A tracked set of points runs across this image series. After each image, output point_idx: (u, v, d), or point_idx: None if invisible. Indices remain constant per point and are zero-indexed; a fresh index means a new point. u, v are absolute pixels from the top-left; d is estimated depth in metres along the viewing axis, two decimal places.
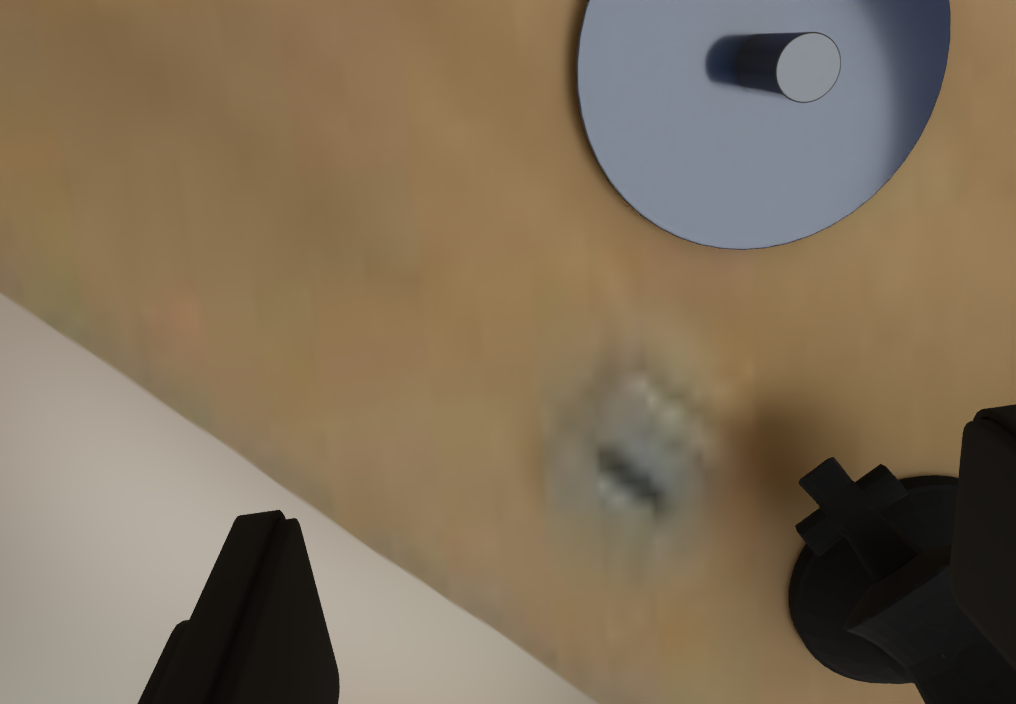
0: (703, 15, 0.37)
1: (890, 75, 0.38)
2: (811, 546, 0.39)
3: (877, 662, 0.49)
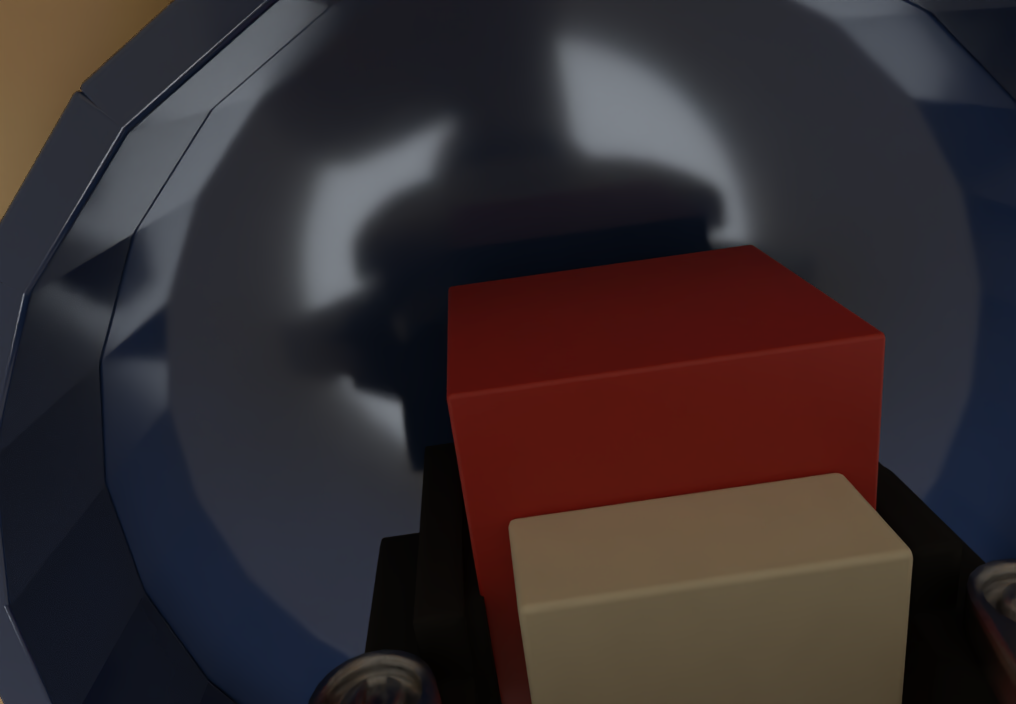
0: None
1: None
2: None
3: None
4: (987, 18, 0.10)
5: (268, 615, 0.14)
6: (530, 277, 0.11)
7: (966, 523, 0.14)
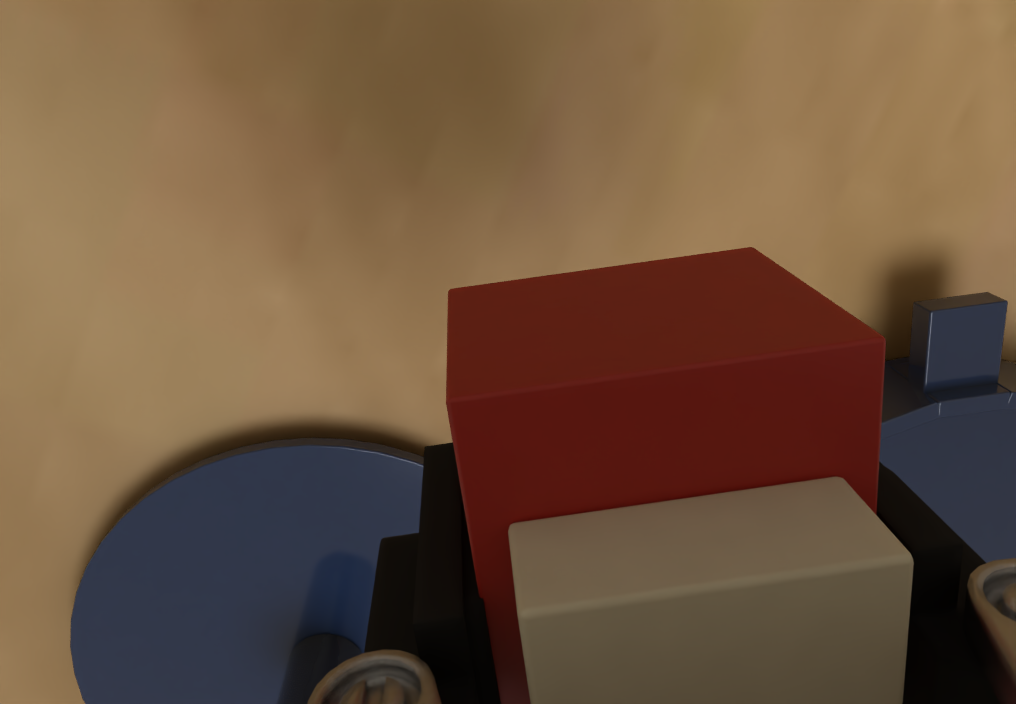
0: (272, 588, 0.28)
1: None
2: None
3: None
4: None
5: None
6: (530, 279, 0.11)
7: None
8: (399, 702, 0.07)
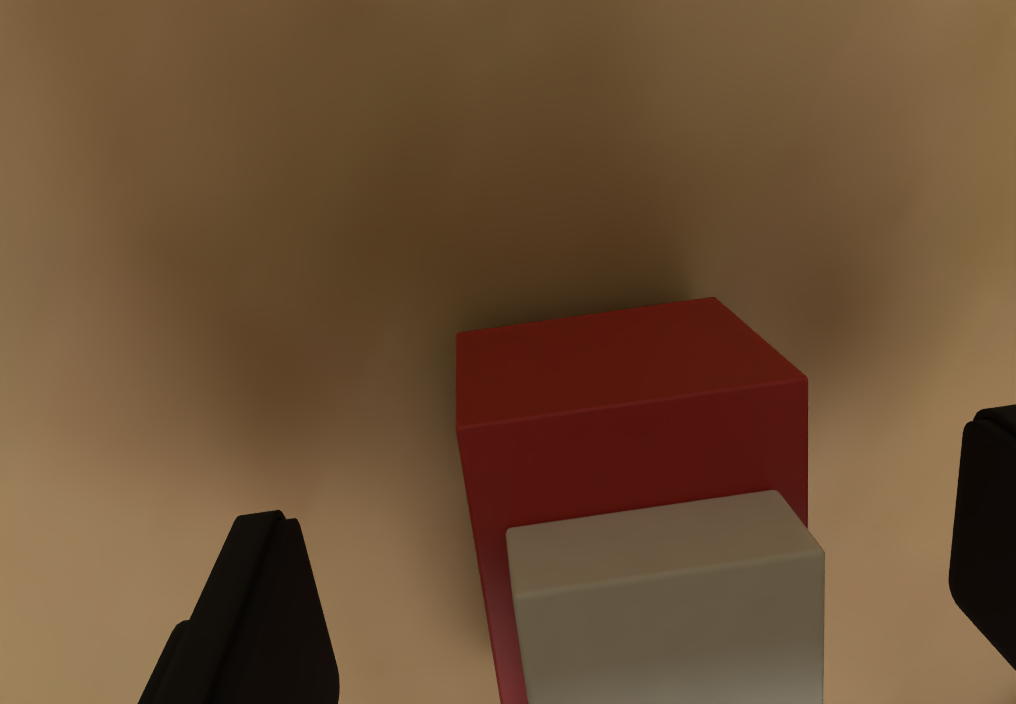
0: None
1: None
2: None
3: None
4: None
5: None
6: (525, 325, 0.12)
7: None
8: None
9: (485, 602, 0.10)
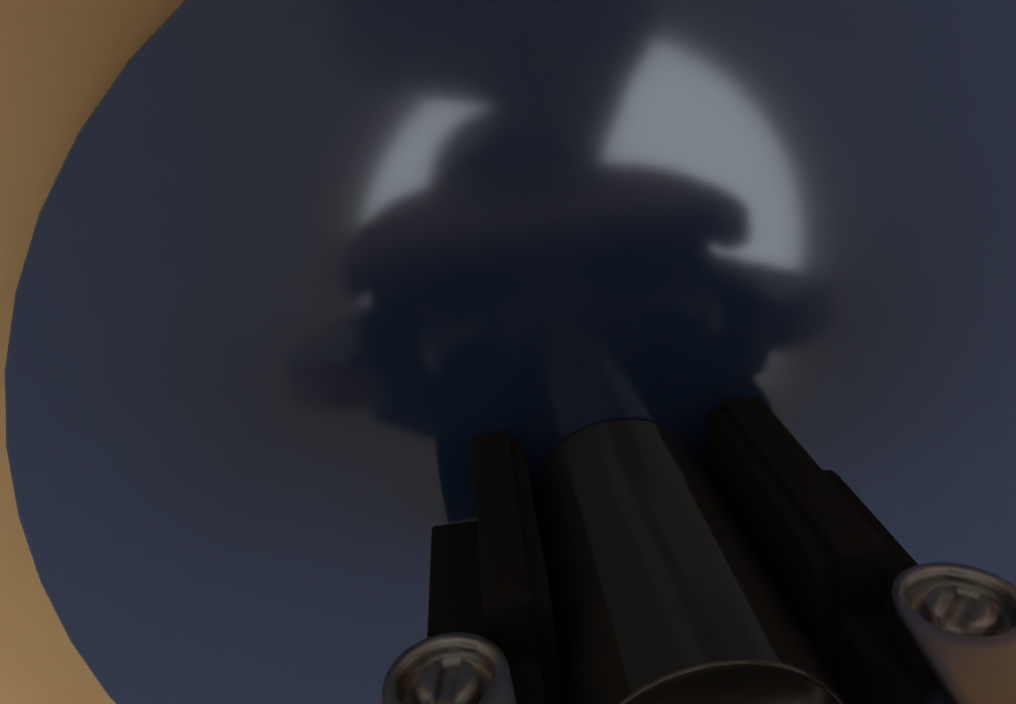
0: (514, 288, 0.11)
1: None
2: None
3: None
4: None
5: None
6: None
7: None
8: (473, 682, 0.07)
9: None
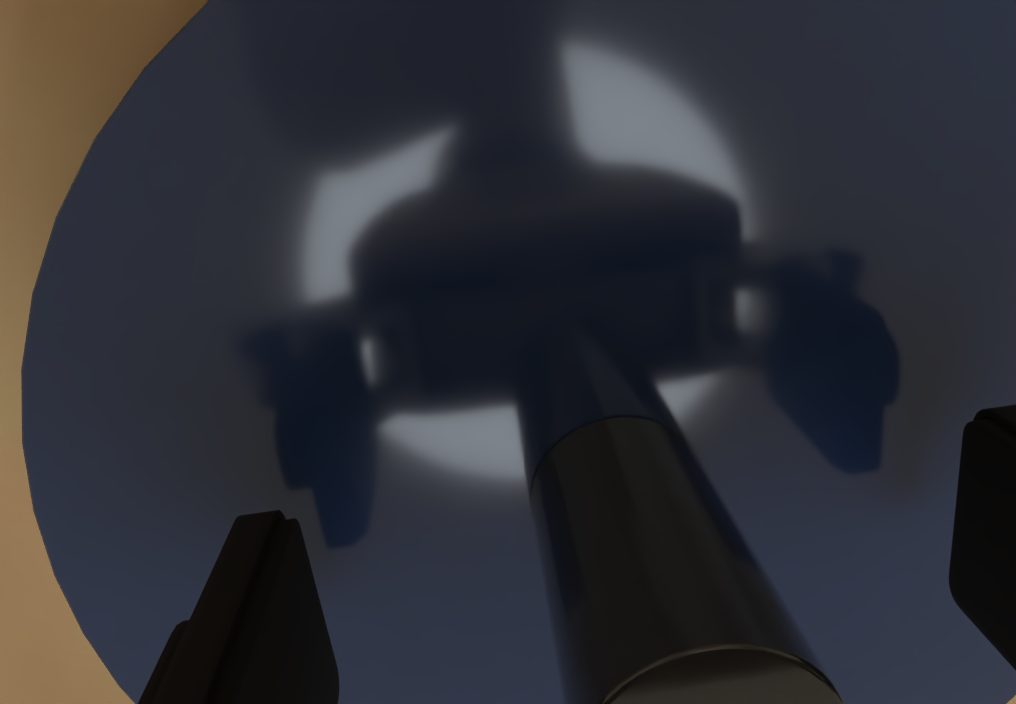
0: (515, 290, 0.11)
1: (893, 658, 0.14)
2: None
3: None
4: None
5: None
6: None
7: None
8: None
9: None
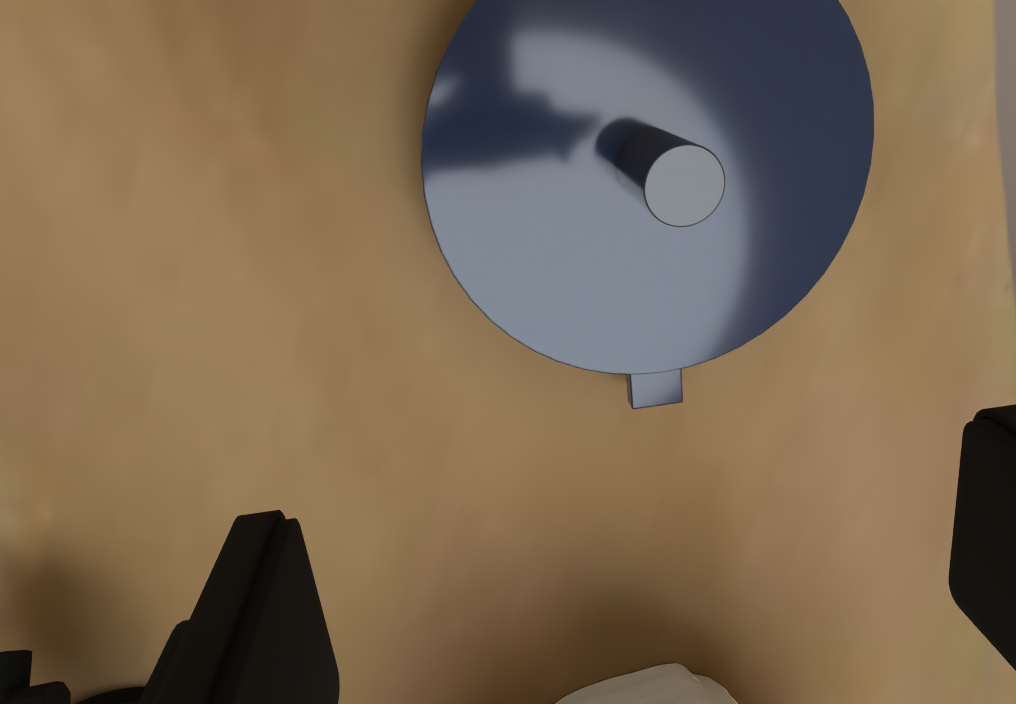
0: (613, 73, 0.30)
1: (767, 251, 0.33)
2: None
3: None
4: None
5: None
6: None
7: None
8: None
9: None
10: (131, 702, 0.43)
